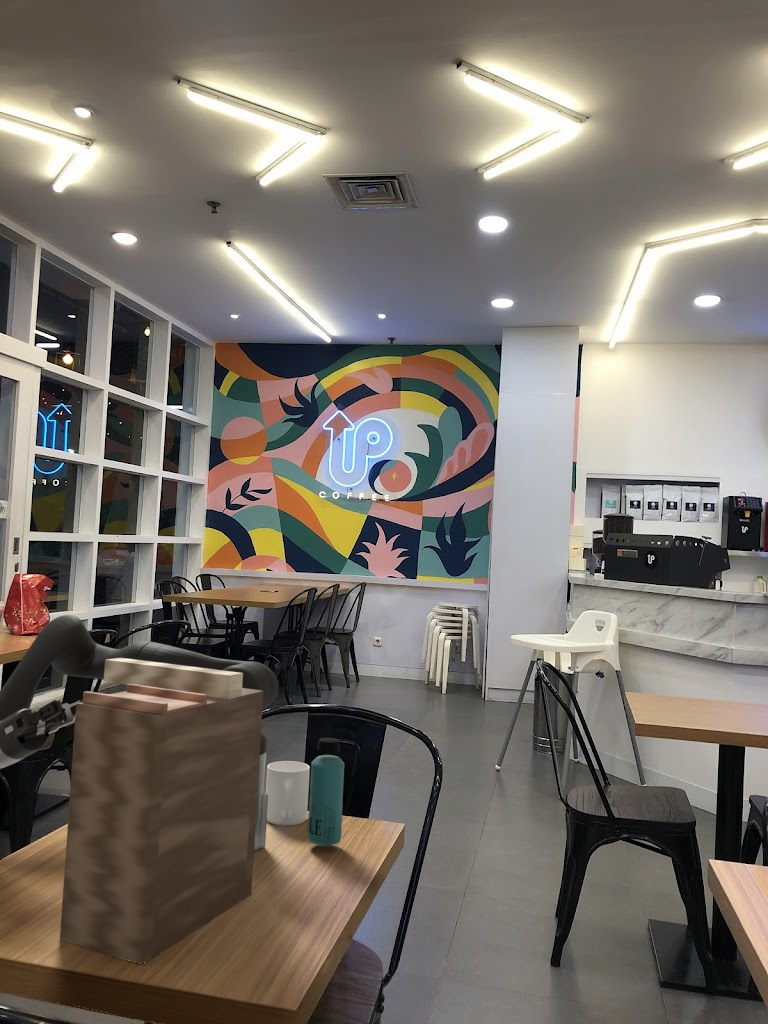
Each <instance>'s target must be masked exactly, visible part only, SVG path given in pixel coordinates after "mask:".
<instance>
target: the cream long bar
mask: <svg viewBox="0 0 768 1024" xmlns="http://www.w3.org/2000/svg"><path fill="white" fill-rule="evenodd" d="M242 681H243V673H239V672H231V671H223V670H215V669H207V668H199V667H191V666H183V665H175V664H167V663H159V662H151V661H143V660H135V659H127V658H114V659H106V660H105V670H104V680H103V682H105V683H110V684H111V683H112V684H118V685H126V686H127V684H136V685H143V686H150V687H157V688H164V689H171V690H179V691H186V692H193V693H200V694H207V696H210V697H217V698H224V699H231V698H235V697H240V696H242Z"/></svg>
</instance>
